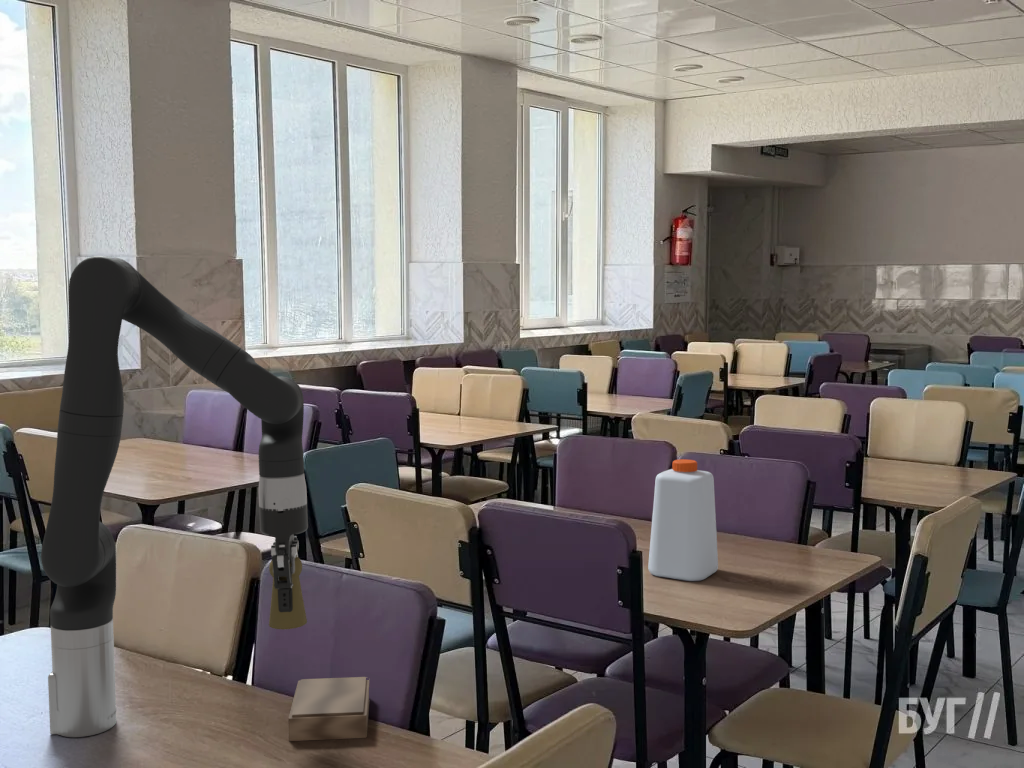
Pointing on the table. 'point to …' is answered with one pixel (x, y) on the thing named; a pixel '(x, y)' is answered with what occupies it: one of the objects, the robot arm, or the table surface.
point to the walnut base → (329, 709)
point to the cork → (298, 613)
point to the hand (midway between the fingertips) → (287, 606)
